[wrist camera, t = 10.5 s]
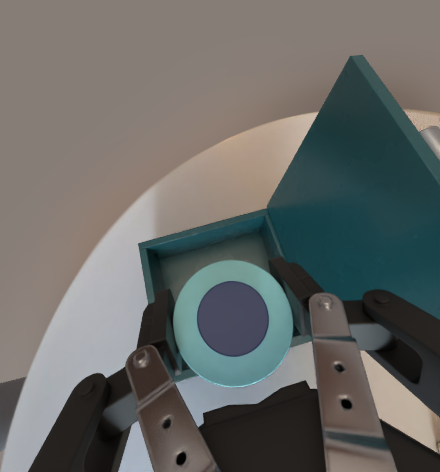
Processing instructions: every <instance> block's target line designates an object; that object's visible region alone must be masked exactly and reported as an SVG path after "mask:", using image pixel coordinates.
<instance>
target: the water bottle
mask: <svg viewBox="0 0 440 472" xmlns="http://www.w3.org/2000/svg"><path fill="white" fill-rule="evenodd" d="M173 330H174V336H175V341H176V344H177V347H178V349H179V352H180V353H181V355H182V357H183V359H184V360H185V362H186V363H187V364H188V366H189V367H190V368H191V369H192V370H193V371H194V372H195V373H197V374H198V375H199V376H200V377H202V378H203V379H205V380H207V381H209V382H211V383H214V384H216V385H220V386H224V387H244V386H248V385H252V384H254V383H257V382H259V381H261V380H263V379H264V378H266V377H268V376H269V375H270V374H271V373H272V372H274V371H275V369H276V368H277V367H278V366H279V365H280V364H281V362H282V361H283V359H284V358H285V356H286V354H287V352H288V349H289V346H290V343H291V339H292V334H293V316H292V310H291V307H290V304H289V301H288V298H287V296H286V294H285V292H284V290H283V289H282V287H281V286H280V284H279V283H278V282H277V281H276V280H275V279H274V278H273V277H272V276H271V275H270V274H269V273H268V272H266V271H265V270H264V269H262V268H260V267H258V266H256V265H254V264H252V263H248V262H245V261H239V260H226V261H220V262H216V263H213V264H210V265H208V266H206V267H204V268H202V269H201V270H199V271H198V272H197V273H195V274H194V275H193V276H192V277H191V278H190V279H189V280H188V281H187V283H186V284H185V285H184V287H183V288H182V290H181V292H180V294H179V296H178V299H177V301H176V304H175V309H174V315H173Z"/></svg>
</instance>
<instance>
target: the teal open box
mask: <svg viewBox="0 0 440 472" xmlns="http://www.w3.org/2000/svg"><path fill="white" fill-rule="evenodd" d="M138 246H139V251H140V257H141V263H142V269H143V275H144V281H145V287H146V293H147V299H148V304H151V303H154V301H155V294H156V292H159V291H162V290H166V289H170V290H171V292H172V295H173V297H174V300H175V303H176V301H177V299H178V296H179V294H180V292H181V290H182V288H183V287H184V285H185V284H186V283H187V281H188V280H189V279H190V278H191V277H192V276H193V275H194V274H195V273H197V272H198V271H199V270H201V269H202V268H204V267H206V266H208V265H210V264H213V263H216V262H220V261H226V260H239V261H245V262H248V263H252V264H254V265H256V266H258V267H260V268H262V269H264V270H265V271H266V272H268V273H269V274H270V270H269V264H268V260H270V259H273V258H277V257H280V256H282V257H283V258H284V260H285V261H286V262H287V263H288V260H287V258H286V255H285V252H284V250H283V247H282V245H281V242H280V240H279V237H278V234H277V232H276V229H275V227H274V224H273V222H272V219H271V216H270V214H269V211H268V209H267V208H266V209H262V210H259V211H255V212H251V213H248V214H244V215H240V216H237V217H233V218H230V219H226V220H222V221H219V222H215V223H211V224H208V225H204V226H200V227H197V228H193V229H189V230H186V231H182V232H178V233H175V234H171V235H167V236H164V237H160V238H156V239H153V240H149V241H145V242H142V243H138ZM310 341H312V339H311V337H310V336H309V335H307V336H303V337H302V336H301V334H300V332H299V331H298V329H297V327H296V326H295V324H294V322H293V334H292V339H291V343H290V346H289V348H290V347H294V346H297V345H300V344H303V343H306V342H310ZM181 362H182V374H180V375H177V376H175V383H177V382H180V381H183V380H186V379H190V378H193V377H196V376H199V375H198V374H197V373H195V372H194V371H193V370H192V369H191V368H190V367H189V366H188V364H187V363H186V362H185V360H184V359H183V357H182V355H181Z"/></svg>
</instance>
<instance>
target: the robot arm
mask: <svg viewBox="0 0 440 472" xmlns="http://www.w3.org/2000/svg"><path fill="white" fill-rule="evenodd" d="M268 264H269V270H270V275H271V276H272V277H273V278H274V279H275V280H276V281H277V282H278V283H279V284H280V286H281V287H282V289H283V290H284V292H285V294H286V296H287V298H288V301H289V304H290V307H291V310H292V316H293V322H294V324H295V326H296V327H297V329H298V331H299V332H300V334H301V336H302V337H303V336H307V335H309V336H310V337H311V339H312V345H313V355H314V365H315V375H316V385H317V389H310V388H309V386H308V384H307V382H306V380H305V381H302V382H299V383H296V384H292V385H289V386H286V387H283V388H280V389H279V390H277V391H276V392H274V393H273V394H272V395H270V396H269V397H267V398H266V399H264V400H263V401H261V402H260V403H257V404H245V405H227V406H224V407H221V408H218V409H215V410H212V411H209V412H206V413H203V418H204V424H202V425H201V426H199V427H197V425H196V423H195V421H194V419H193V417H192V415H191V413H190V411H189V410H188V408H187V406H186V404H185V402H184V400H183V398H182V396H181V394H180V392H179V390H178V388H177V386H176V384H175V376H177V375H180V374H182V362H181V353H180V352H179V349H178V347H177V344H176V341H175V336H174V330H173V315H174V309H175V304H176V303H175V300H174V297H173V295H172V292H171V290H170V289H166V290H162V291H159V292H156V294H155V301H154V303H151V304H148V306H147V307H146V309H145V310H144V312H143V317H142V322H141V328H140V333H139V338H138V344H137V349H136V350H135V351H134V352H132V354H131V355H130V356H129V357H128V359H127V361H126V364H125V367H124V368H123V369H121V370H120V371H118V372H116V373H114V374H113V375H111V376H109V377H108V378H106V377H105V376H104V375H103V374H100V373H96V374H92V375H90V376H88V377H86V378H85V379H83V380H82V381H81V382H80V383H79V384H78V385H77V386H76V387H75V388H74V390H73V391H72V393H71V395H70V396H69V398H68V400H67V402H66V404H65V405H64V407H63V409H62V411H61V413H60V415H59V416H58V418H57V420H56V422H55V424H54V425H53V427H52V429H51V431H50V433H49V435H48V436H47V438H46V440H45V442H44V444H43V445H42V447H41V449H40V451H39V453H38V455H37V456H36V458H35V460H34V462H33V464H32V465H31V467H30V469H29V471H28V472H118V470H119V467H120V463H121V460H122V457H123V453H124V450H125V446H126V443H127V440H128V436H129V433H130V429H131V426H132V424H134V423H135V422H137V421H139V424H140V427H141V431H142V434H143V437H144V441H145V444H146V447H147V450H148V454H149V457H150V460H151V464H152V467H153V470H154V472H440V454H438V453H437V452H435V451H433V450H432V449H430V448H428V447H426V446H425V445H423V444H421V443H420V442H418V441H416V440H415V439H413V438H411V437H410V436H408V435H406V434H405V433H403V432H401V431H400V430H398V429H396V428H395V427H393V426H391V425H390V424H388V423H386V422H384V421H383V420H381V419H379V417H378V413H377V410H376V407H375V403H374V400H373V396H372V393H371V389H370V386H369V382H368V379H367V375H366V372H365V368H364V365H363V361H362V358H361V355H360V351H359V350H365V351H366V352H367V353H368V354H369V355H370V356H371V357H372V358H373V359H375V360H376V361H377V362H378V363H379V364H380V365H381V366H382V367H384V368H385V369H386V370H387V371H388V372H389V373H390V374H391V375H393V376H394V377H395V378H396V379H397V380H398V381H399V382H400V383H402V384H403V385H404V386H405V387H406V388H407V389H408V390H409V391H411V392H412V393H413V394H414V395H415V396H416V397H417V398H418V399H420V400H421V401H422V402H423V403H424V404H425V405H426V406H427V407H429V408H430V409H431V410H432V411H433V412H434V413H435V414H436V415H438V416H439V417H440V320H439V319H438V318H436V317H434V316H432V315H431V314H429V313H427V312H425V311H424V310H422V309H420V308H418V307H417V306H415V305H413V304H411V303H410V302H408V301H406V300H404V299H403V298H401V297H399V296H397V295H396V294H394V293H392V292H389V291H386V290H380V289H374V290H369V291H367V292H365V293H364V294H363V297H362V300H351V301H345V300H341V299H340V298H339V297H338V296H336V295H334V294H332V293H327V292H325V291H324V290H323V289H322V288H321V287H320V286H319V285H318V284H317V283H316V281H315V280H314V279H313V278H312V277H310V275H309V274H308V273H307V272H306V271H305V270H304V268H303V267H302V266H301V265H298V264H296V263H294V262H291V263H287V262H286V261H285V260H284V258H283V257H282V256H280V257H277V258H273V259H270V260H268Z"/></svg>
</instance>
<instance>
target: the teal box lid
mask: <svg viewBox="0 0 440 472" xmlns="http://www.w3.org/2000/svg"><path fill="white" fill-rule="evenodd" d="M267 209H268V211H269V214H270V216H271V219H272V222H273V224H274V227H275V229H276V232H277V234H278V237H279V240H280V242H281V245H282V247H283V250H284V252H285V255H286V258H287V260H288V263H291V262H294V263H296V264H298V265H301V266H302V267H303V268H304V270H305V271H306V272H307V273H308V274H309V275H310V277H312V278H313V279H314V280H315V281H316V283H317V284H318V285H319V286H320V287H321V288H322V289H323V290H324V291H325V292H327V293H332V294H334V295H336V296H338V297H339V298H340V299H341V300H345V301H351V300H362V297H363V294H364V293H365V292H367V291H369V290H374V289H380V290H386V291H389V292H392V293H394V294H396V295H397V296H399V297H401V298H403V299H404V300H406V301H408V302H410V303H411V304H413V305H415V306H417V307H418V308H420V309H422V310H424V311H425V312H427V313H429V314H431V315H432V316H434V317H436V318H438V319H439V320H440V128H439V127H437V126H432V127H429V128H426V129H424V130H422V131H420V132H419V131H418V130H417V129H416V127H415V126H414V125H413V123H412V122H411V121H410V119H409V118H408V116H407V115H406V114H405V112H404V111H403V110H402V108H401V107H400V105H399V104H398V103H397V101H396V100H395V99H394V97H393V96H392V94H391V93H390V92H389V90H388V89H387V88H386V86H385V85H384V84H383V82H382V81H381V79H380V78H379V77H378V75H377V74H376V73H375V71H374V70H373V68H372V67H371V66H370V64H369V63H368V62H367V60H366V59H365V57H364V56H363V55H356V56H350V57H349V59H348V61H347V63H346V65H345V66H344V68H343V70H342V72H341V74H340V75H339V77H338V79H337V81H336V83H335V84H334V87H333V88H332V90H331V92H330V93H329V95H328V97H327V99H326V101H325V102H324V104H323V106H322V108H321V110H320V111H319V113H318V115H317V117H316V119H315V120H314V122H313V124H312V126H311V128H310V129H309V131H308V133H307V135H306V137H305V138H304V140H303V142H302V144H301V145H300V147H299V149H298V151H297V153H296V154H295V156H294V158H293V160H292V162H291V163H290V165H289V167H288V169H287V171H286V172H285V174H284V176H283V178H282V180H281V181H280V183H279V185H278V187H277V189H276V190H275V192H274V194H273V196H272V198H271V199H270V201H269V203H268V205H267Z"/></svg>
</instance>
